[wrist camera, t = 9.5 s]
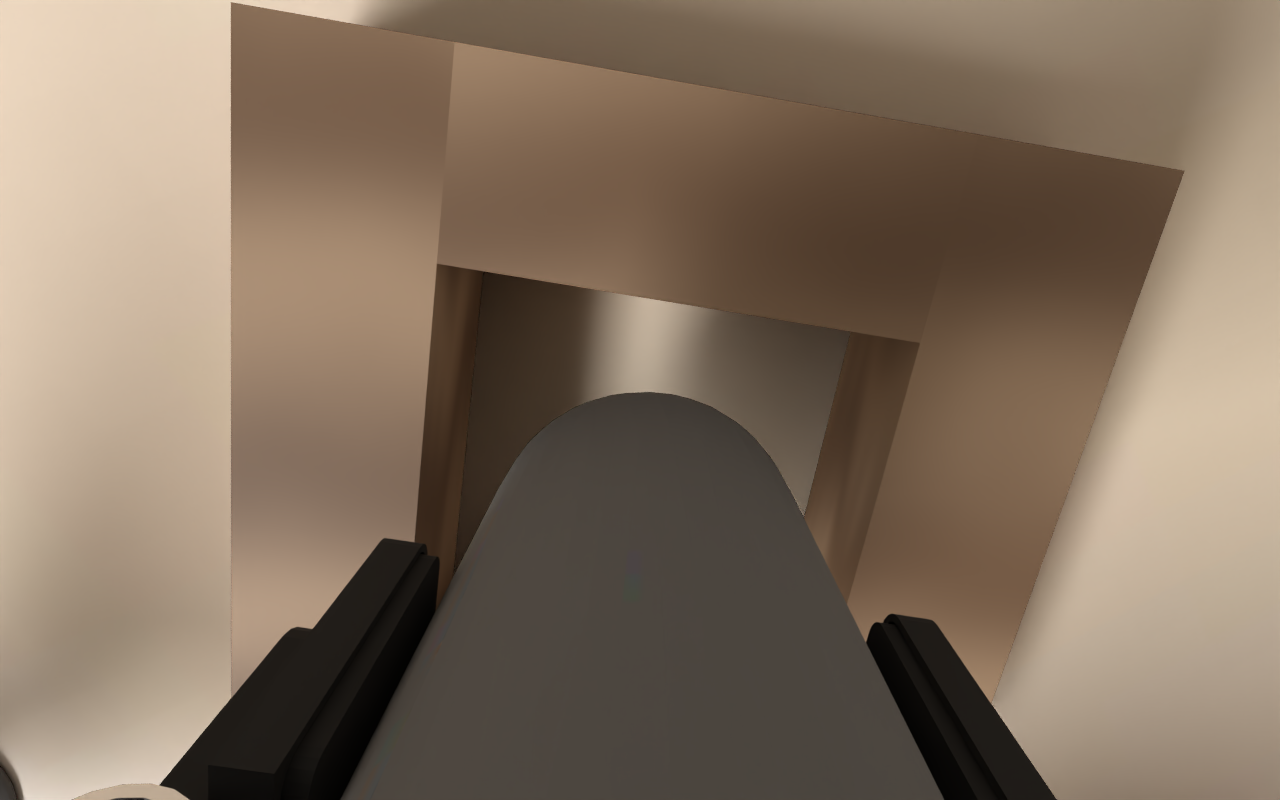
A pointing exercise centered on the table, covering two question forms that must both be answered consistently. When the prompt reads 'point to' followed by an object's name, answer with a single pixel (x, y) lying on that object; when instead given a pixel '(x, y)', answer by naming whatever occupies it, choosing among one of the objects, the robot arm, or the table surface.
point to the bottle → (642, 635)
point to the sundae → (6, 787)
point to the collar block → (663, 270)
